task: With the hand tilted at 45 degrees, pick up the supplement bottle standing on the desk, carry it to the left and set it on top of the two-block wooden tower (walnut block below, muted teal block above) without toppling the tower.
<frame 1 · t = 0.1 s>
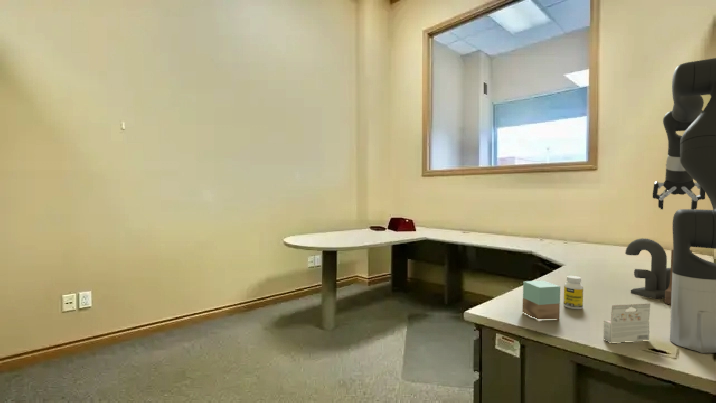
hand: (676, 209, 134), 31 cm above the table, tool tilted 20°, fingers open, 8 cm apart
tower top block: (541, 300, 109), point 5 cm above the table, touching tower bottom block
ink cartridge box: (626, 342, 92), on the table
wooden block: (677, 303, 125), on the table
faucet: (647, 291, 140), on the table
supplement bottle: (572, 307, 119), on the table
tower bottom block: (540, 317, 109), on the table, touching tower top block
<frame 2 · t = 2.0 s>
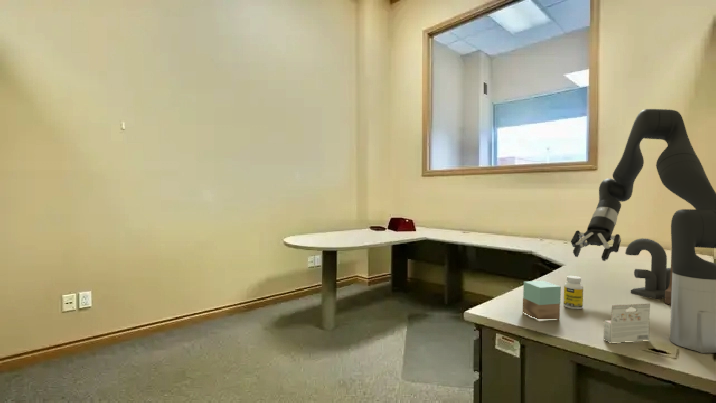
hand: (589, 257, 126), 15 cm above the table, tool tilted 45°, fingers open, 8 cm apart
nothing on the table moved.
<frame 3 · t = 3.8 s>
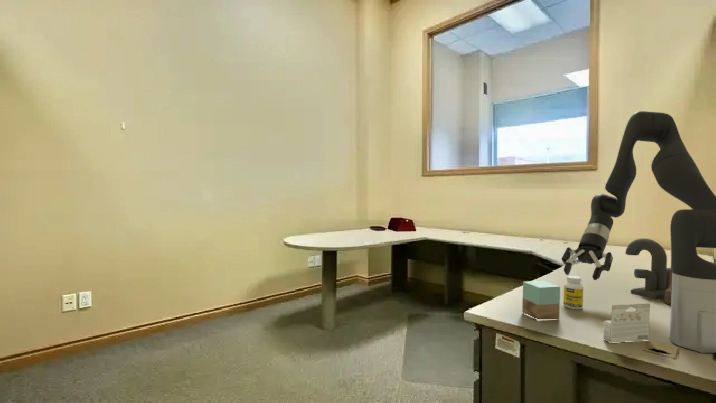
hand: (579, 276, 122), 9 cm above the table, tool tilted 45°, fingers open, 8 cm apart
tower top block: (540, 300, 109), point 5 cm above the table
tower bottom block: (540, 317, 109), on the table
everything else where it was.
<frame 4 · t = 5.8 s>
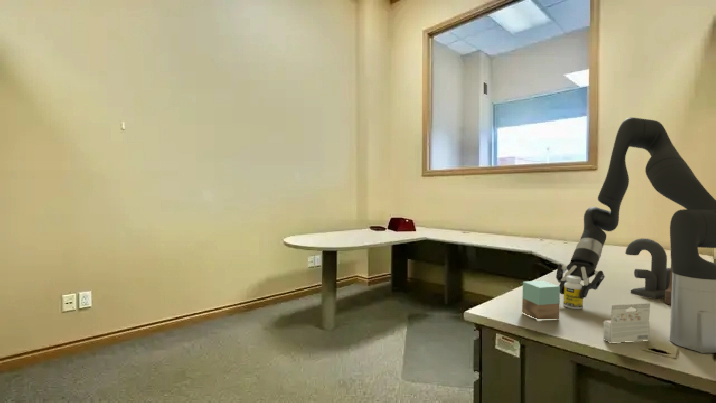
hand: (571, 294, 118), 4 cm above the table, tool tilted 45°, fingers closed on supplement bottle, 5 cm apart
tower top block: (540, 300, 109), point 5 cm above the table, touching tower bottom block
supplement bottle: (572, 307, 119), on the table, touching gripper
tower bottom block: (540, 317, 109), on the table, touching tower top block
everything else where it was.
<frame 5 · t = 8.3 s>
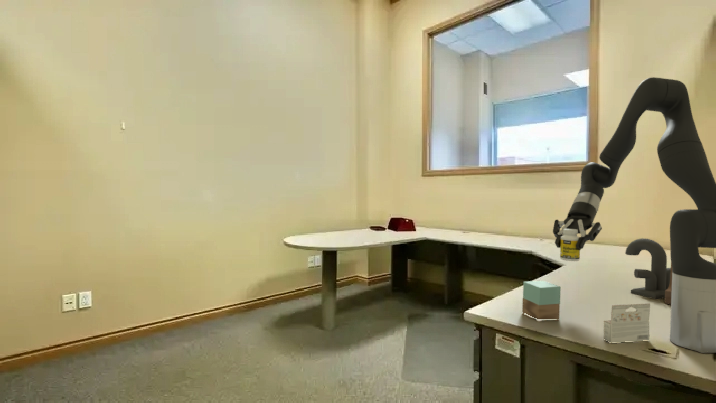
hand: (567, 247, 116), 20 cm above the table, tool tilted 45°, fingers closed on supplement bottle, 5 cm apart
supplement bottle: (569, 260, 117), point 15 cm above the table, touching gripper
everything else where it was.
when the fingers open (15 cm above the table, at t = 10.8 s): supplement bottle stays where it is, resting on tower top block.
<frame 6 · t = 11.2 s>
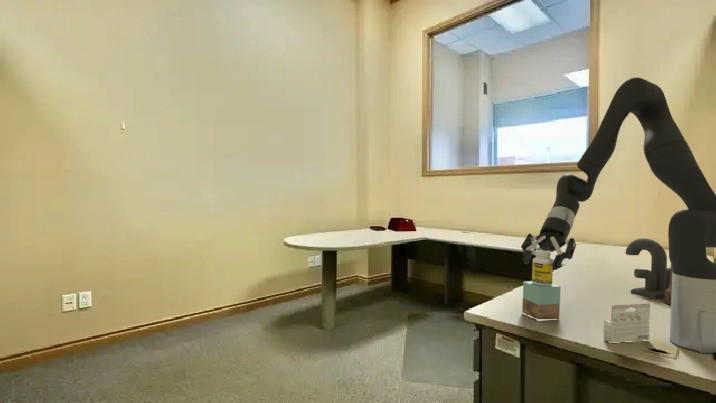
hand: (539, 265, 108), 16 cm above the table, tool tilted 45°, fingers open, 8 cm apart
tower top block: (541, 300, 109), point 5 cm above the table, touching supplement bottle, tower bottom block
supplement bottle: (541, 284, 109), point 10 cm above the table, touching tower top block
everything else where it was.
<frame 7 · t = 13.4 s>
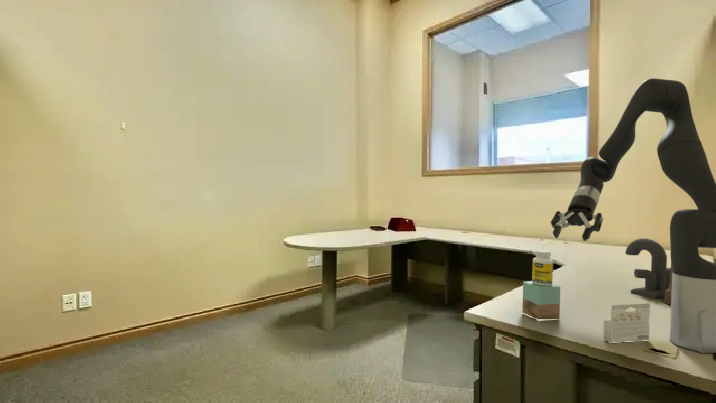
hand: (569, 237, 118), 23 cm above the table, tool tilted 45°, fingers open, 8 cm apart
nothing on the table moved.
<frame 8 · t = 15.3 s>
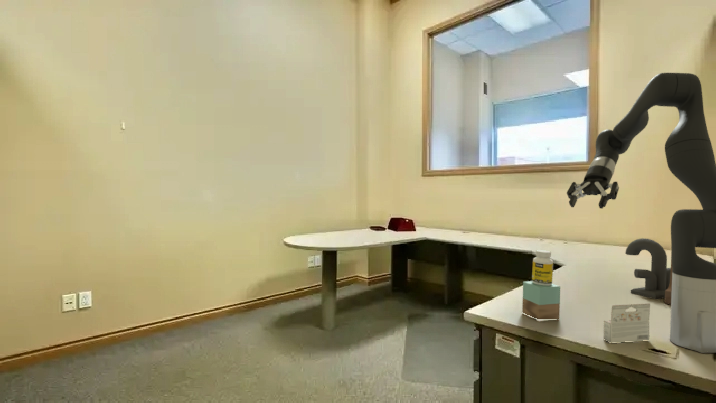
hand: (585, 206, 121), 33 cm above the table, tool tilted 45°, fingers open, 8 cm apart
nothing on the table moved.
at the end: supplement bottle inside the target area on the tower top block (0.2 cm from its centre), point 4.9 cm above the tower top block's base; supplement bottle tilted 2°; tower top block 0.1 cm off-centre on the tower bottom block, point 5.0 cm above the tower bottom block's base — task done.
